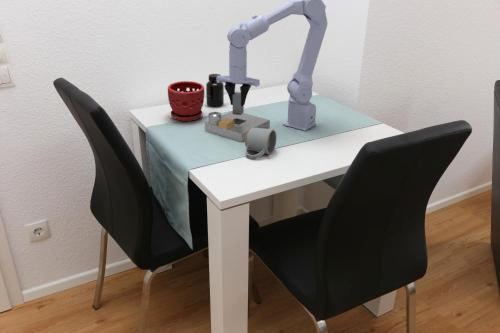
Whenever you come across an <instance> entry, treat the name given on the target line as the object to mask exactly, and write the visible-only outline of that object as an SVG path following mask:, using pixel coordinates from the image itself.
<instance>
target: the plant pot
mask: <svg viewBox="0 0 500 333" xmlns="http://www.w3.org/2000/svg"><path fill="white" fill-rule="evenodd" d="M188 89H189V90H188ZM167 98H168V104H169V106H170V108H171V111H170V115H171V117H172V118H173V119H175V120H178V121H180V122H181V121H182V122H192V121H195V120H198V119H199V118H201V117H202V115H203V110H202V109H203V106H204V102H205V86H204V84H202V83H200V82H196V81H189V80H186V81H185V80H184V81H175V82H172V83H170V84H169V85H168V86H167Z"/></svg>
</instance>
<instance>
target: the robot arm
mask: <svg viewBox="0 0 500 333" xmlns="http://www.w3.org/2000/svg"><path fill="white" fill-rule="evenodd" d="M326 9H327V8H326V4H325V3H324V1H323V0H288V1H287V2H284V3H283V4H282V5H280V6H278V7H277V8H275V9H274V10H272V11H270V12H269V13H267V14H266V15H262V14H258V15H257V14H253V15H252V16H251V17H252V18H250V19H248V20H246V21H245V22H241V23H239V24H238V25H239V26H233V27H231V28H230V29H229V31H228V33H227V35H226V37H227V40H228V42H229V47H228V48H229V50H228V54H229V55H228V59H229V60H228V64H229V65H228V68H229V70H228V72H229V73H228V74H229V75H221V76H217V83H220V82H222V83H223V84H224V90H225V91H226V93H227V95H228V98H229V101H230V105H231V106H233V94H234V93H235V92H236V86H237V85H240V86H239V90H240V93H241V106H244V107H245V104H246V101H247V100H246V99H247V96H248V94H249V91H250V88H251V87H252V86H254V87H256V88H257V87H259V86H260V82H261V81H260V79H257V78H254V77H253V78H252V77H248V76H247V73H248V72H247V69H248V68H247V64H248V62H247V58H248V56H247V55H248V53H247V45H249V42H250V41H252V40H254V39H256V38H257V37H259V36H261V35H263V34H265V33H266V32H268V31H269V29H270V26H271V25H273V24H275V23H277V22H279V21H282V20H283V19H286V18H287V17H289V16H292V15H298V16H304V17H305V19H306V21H307V22H308V23H309V30H308V32H307V36H306V40H305V43H304V45H303V51H302V54H301V57H300V59H299V64H298V66H297V71H296V72H295V73H294V74H293V75H292V78H291V80H290V81H289V82H288V83H287V86H286V87H287V88H286V89H287V90H286V91H287V92H288V94H289V97H288V106H287V107H288V108H287V120H286V121H284V122H283V123H282V125H283V126H286V127H290V128H293V129H296V130H301V131H304V132H305V131H307V130H309V129H310V128H312V127H314V126H316V125H317V123H316V119H317V118H316V116H317V106H316V104H315V103H312V102H311V101H310V100H311V99H312V98H313V89H312V88H313V86H314V82H313V74H314V71H315V66H316V64H317V61H318V57H319V53H320V51H321V47H322V44H323V41H324V38H325V33H326V31H327V29H328V19H327V18H328V17H327V13H326Z"/></svg>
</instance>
